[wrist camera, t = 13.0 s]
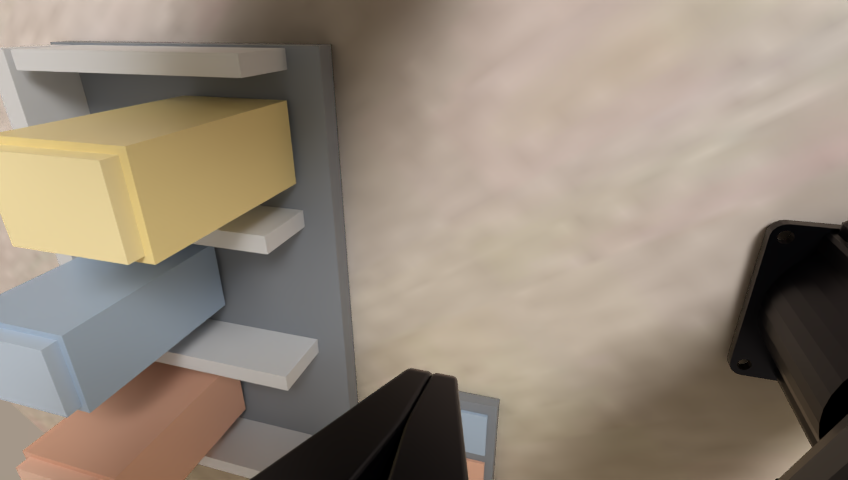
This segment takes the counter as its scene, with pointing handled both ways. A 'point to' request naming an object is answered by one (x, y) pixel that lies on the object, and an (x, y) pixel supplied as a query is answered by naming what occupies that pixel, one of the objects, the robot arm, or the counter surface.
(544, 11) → the counter surface
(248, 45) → the grey divided tray
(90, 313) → the pale blue block
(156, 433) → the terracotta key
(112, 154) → the yellow block
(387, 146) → the counter surface
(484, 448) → the tile
